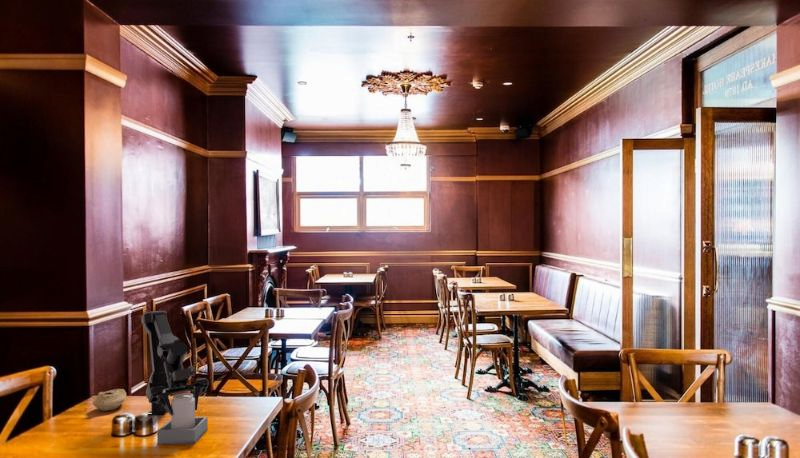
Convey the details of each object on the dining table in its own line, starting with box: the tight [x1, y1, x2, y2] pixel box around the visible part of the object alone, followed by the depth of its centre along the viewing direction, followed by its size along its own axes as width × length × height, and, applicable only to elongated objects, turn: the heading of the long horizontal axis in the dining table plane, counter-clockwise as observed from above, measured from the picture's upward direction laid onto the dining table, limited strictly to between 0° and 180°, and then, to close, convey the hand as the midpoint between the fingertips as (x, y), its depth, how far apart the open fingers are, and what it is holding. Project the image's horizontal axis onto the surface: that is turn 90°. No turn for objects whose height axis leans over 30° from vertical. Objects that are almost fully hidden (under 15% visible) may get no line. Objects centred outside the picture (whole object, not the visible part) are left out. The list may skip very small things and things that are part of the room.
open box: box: [156, 416, 209, 446], centre depth 173 cm, size 12×12×4 cm
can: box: [170, 392, 196, 430], centre depth 174 cm, size 8×8×12 cm
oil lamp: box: [91, 388, 127, 412], centre depth 205 cm, size 11×15×8 cm
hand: (184, 412), depth 173 cm, fingers closed on can, 7 cm apart
